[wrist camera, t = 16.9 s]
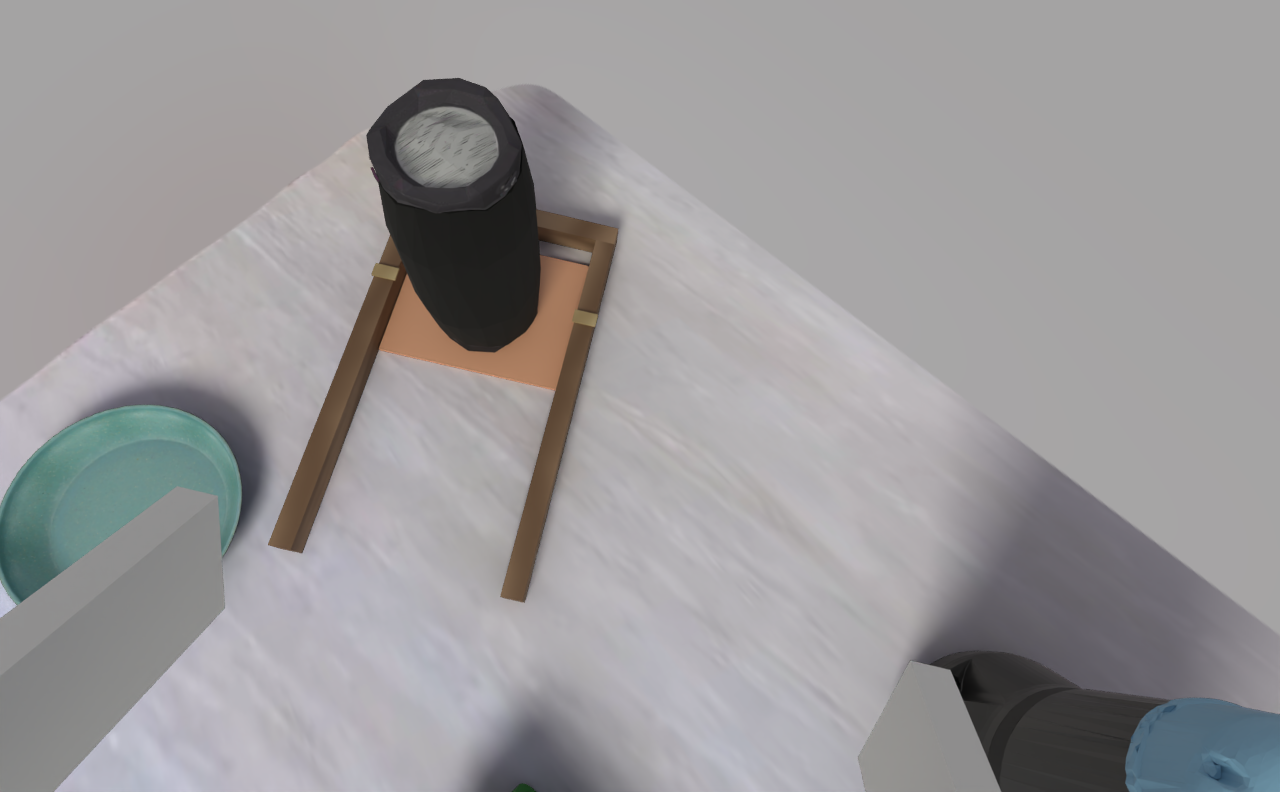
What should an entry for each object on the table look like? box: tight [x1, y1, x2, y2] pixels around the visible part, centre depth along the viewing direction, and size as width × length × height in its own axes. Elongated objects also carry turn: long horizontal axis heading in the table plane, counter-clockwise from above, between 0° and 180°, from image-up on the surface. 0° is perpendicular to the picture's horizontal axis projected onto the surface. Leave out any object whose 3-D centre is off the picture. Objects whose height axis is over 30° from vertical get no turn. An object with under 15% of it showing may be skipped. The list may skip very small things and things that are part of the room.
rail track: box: [268, 209, 618, 603], centre depth 50 cm, size 17×30×2 cm, turn 168°
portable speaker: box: [367, 78, 541, 353], centre depth 43 cm, size 9×9×20 cm
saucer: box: [0, 405, 242, 605], centre depth 44 cm, size 15×15×3 cm
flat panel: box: [379, 255, 589, 390], centre depth 53 cm, size 14×11×1 cm
